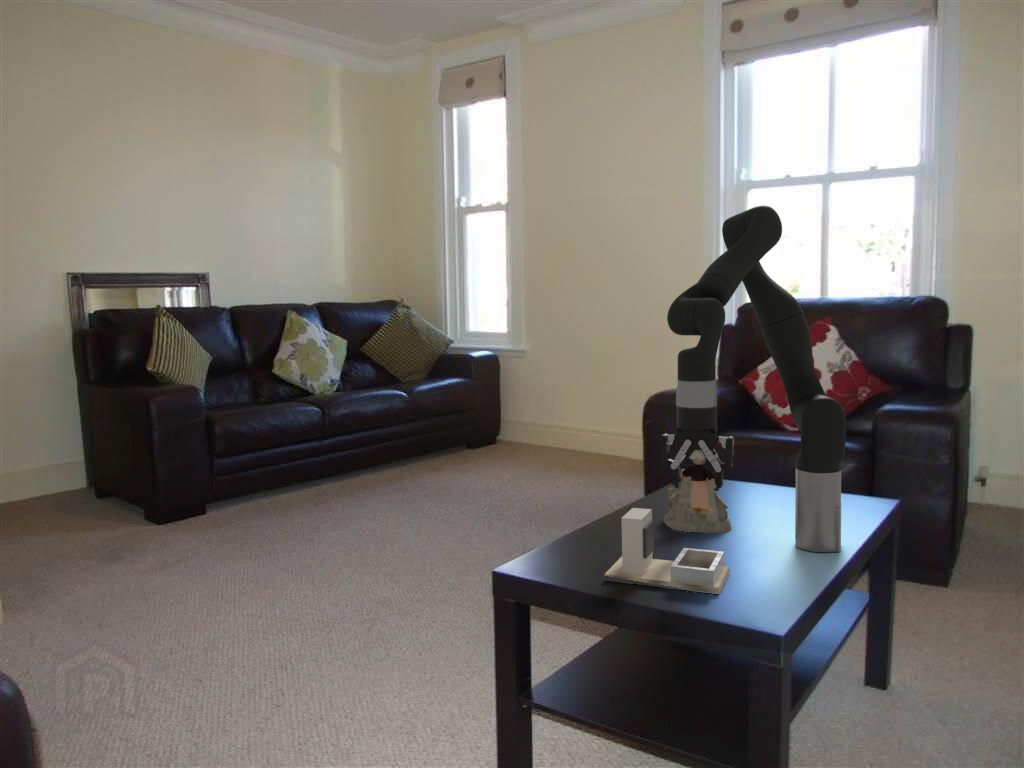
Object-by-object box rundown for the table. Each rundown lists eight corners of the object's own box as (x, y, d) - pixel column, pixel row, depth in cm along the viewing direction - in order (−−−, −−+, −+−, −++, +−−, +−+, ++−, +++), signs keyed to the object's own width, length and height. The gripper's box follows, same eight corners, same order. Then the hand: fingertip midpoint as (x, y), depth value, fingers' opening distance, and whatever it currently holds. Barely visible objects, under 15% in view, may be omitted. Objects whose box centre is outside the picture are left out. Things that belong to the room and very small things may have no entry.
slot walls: (724, 566, 157) (724, 551, 157) (713, 586, 146) (713, 571, 146) (684, 562, 160) (683, 547, 160) (670, 581, 150) (670, 566, 149)
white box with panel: (655, 562, 161) (654, 509, 160) (645, 575, 154) (644, 519, 152) (633, 560, 163) (632, 507, 162) (622, 572, 155) (621, 517, 154)
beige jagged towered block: (731, 534, 183) (728, 470, 182) (659, 533, 188) (656, 470, 187) (733, 520, 198) (731, 461, 197) (667, 519, 202) (664, 461, 202)
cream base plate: (729, 574, 157) (729, 566, 157) (719, 595, 146) (719, 587, 146) (622, 562, 166) (622, 555, 166) (604, 581, 155) (604, 574, 155)
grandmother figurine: (721, 511, 151) (721, 446, 150) (714, 516, 148) (714, 450, 147) (683, 506, 156) (683, 443, 154) (675, 511, 153) (675, 446, 151)
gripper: (738, 402, 150) (738, 487, 152) (664, 400, 156) (664, 482, 158) (732, 407, 144) (732, 496, 145) (654, 405, 150) (655, 490, 151)
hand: (697, 488), depth 152 cm, fingers closed on grandmother figurine, 7 cm apart
